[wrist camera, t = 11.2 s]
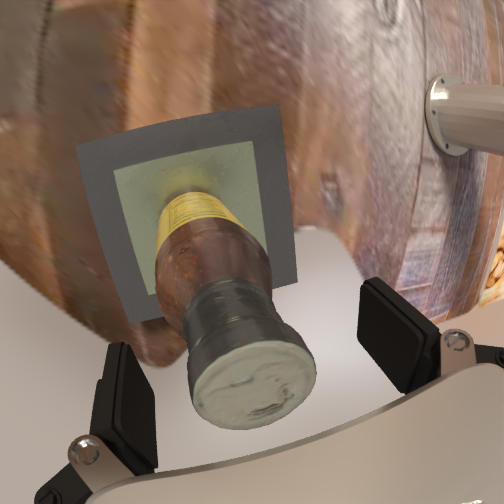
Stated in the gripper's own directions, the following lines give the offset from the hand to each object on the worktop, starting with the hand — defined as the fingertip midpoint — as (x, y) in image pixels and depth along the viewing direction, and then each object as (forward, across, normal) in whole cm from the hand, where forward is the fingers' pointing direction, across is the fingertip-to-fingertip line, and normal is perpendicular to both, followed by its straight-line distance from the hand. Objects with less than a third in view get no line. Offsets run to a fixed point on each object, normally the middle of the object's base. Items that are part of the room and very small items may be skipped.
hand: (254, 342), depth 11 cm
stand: (+21, +1, 0) cm, 21 cm away
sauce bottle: (+17, +1, 0) cm, 17 cm away
